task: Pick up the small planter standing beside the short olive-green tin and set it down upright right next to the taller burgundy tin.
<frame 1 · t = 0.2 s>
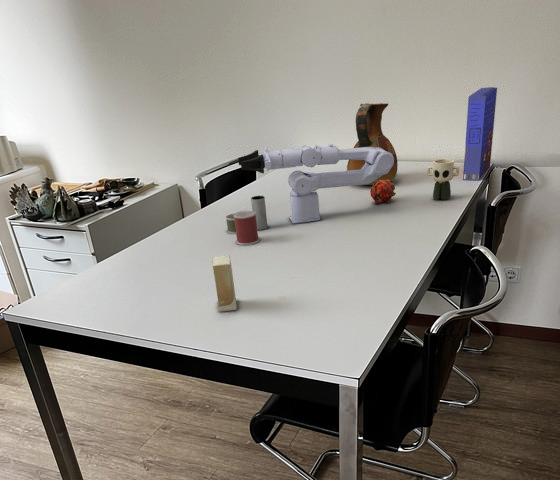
hand: (239, 163, 192), 21 cm above the table, tool horizontal, fingers open, 7 cm apart
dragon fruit: (382, 202, 214), on the table
short can: (237, 230, 201), on the table
character mug: (441, 199, 211), on the table
cereal box: (476, 173, 237), on the table
ceramic pitcher: (372, 183, 238), on the table
planter: (261, 228, 201), on the table
cosmetic box: (228, 307, 148), on the table
tall can: (247, 241, 190), on the table
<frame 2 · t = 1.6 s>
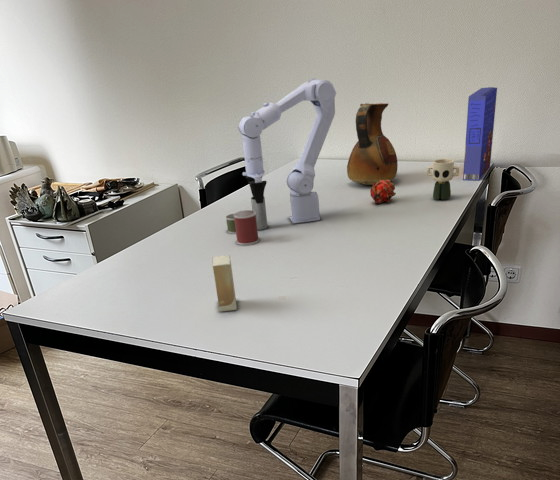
hand: (258, 200, 196), 9 cm above the table, tool pointing down, fingers open, 7 cm apart
nothing on the table moved.
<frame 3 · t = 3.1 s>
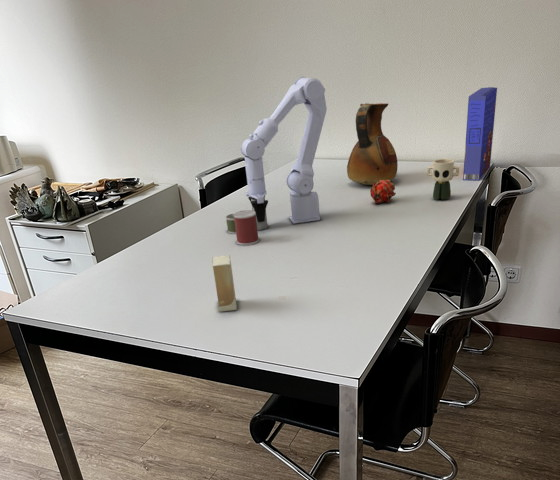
hand: (260, 219, 199), 3 cm above the table, tool pointing down, fingers closed on planter, 4 cm apart
planter: (261, 228, 201), on the table, touching gripper
everything else where it was.
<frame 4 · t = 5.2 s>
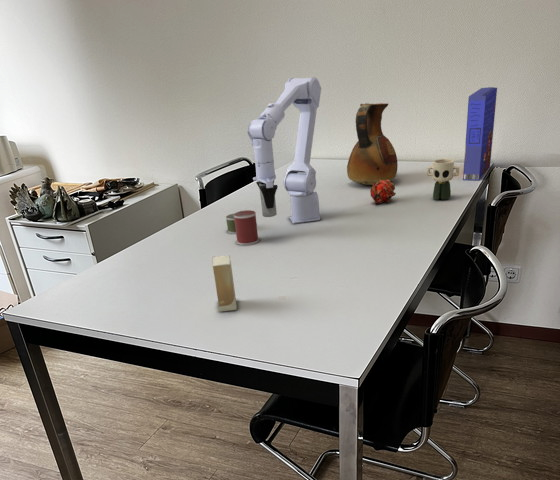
hand: (268, 206, 187), 10 cm above the table, tool pointing down, fingers closed on planter, 4 cm apart
planter: (269, 215, 189), point 7 cm above the table, touching gripper
everything else where it was.
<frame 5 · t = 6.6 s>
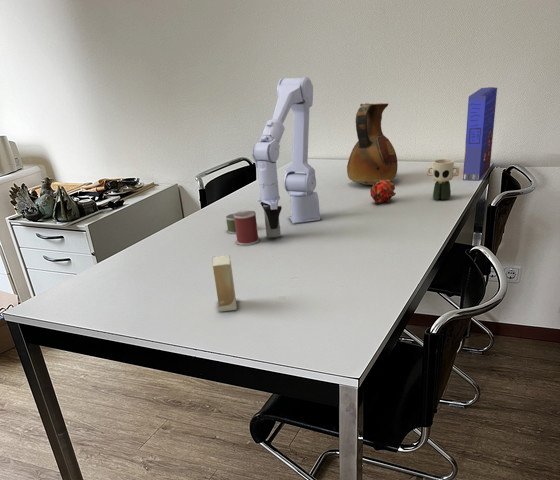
hand: (272, 226, 189), 4 cm above the table, tool pointing down, fingers closed on planter, 4 cm apart
planter: (273, 235, 190), point 1 cm above the table, touching gripper
everything else where it was.
when the fingers open (3 cm above the table, at t = 7.3 s): planter stays where it is, on the table.
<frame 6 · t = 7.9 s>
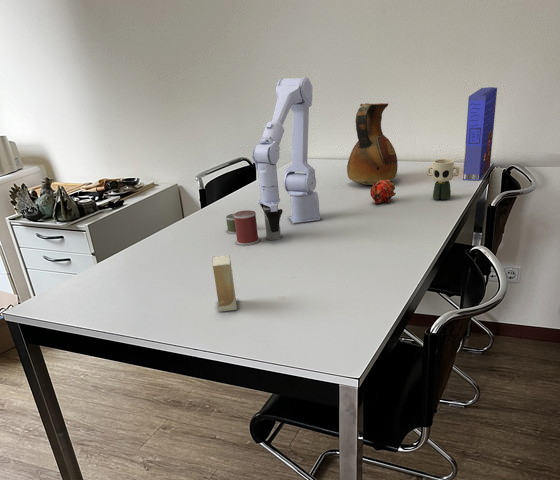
hand: (273, 228, 189), 3 cm above the table, tool pointing down, fingers open, 7 cm apart
planter: (273, 238, 191), on the table
everything else where it was.
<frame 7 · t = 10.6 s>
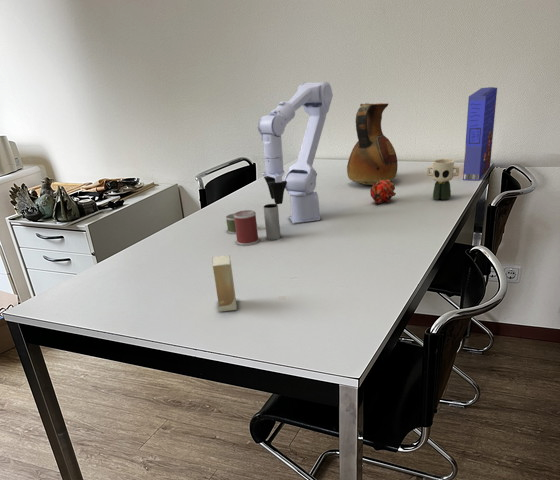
hand: (276, 201, 191), 10 cm above the table, tool pointing down, fingers open, 7 cm apart
nothing on the table moved.
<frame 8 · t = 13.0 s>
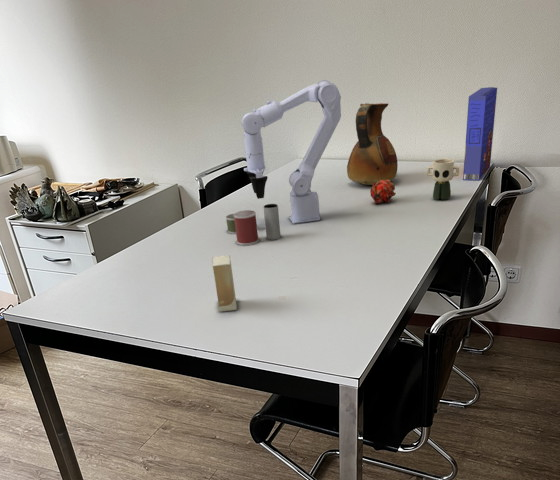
hand: (259, 195, 199), 10 cm above the table, tool pointing down, fingers open, 7 cm apart
nothing on the table moved.
at the end: planter 0.1 cm from the target spot on the table beside the tall can, on the table; planter tilted 0°; the gripper is holding nothing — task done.
